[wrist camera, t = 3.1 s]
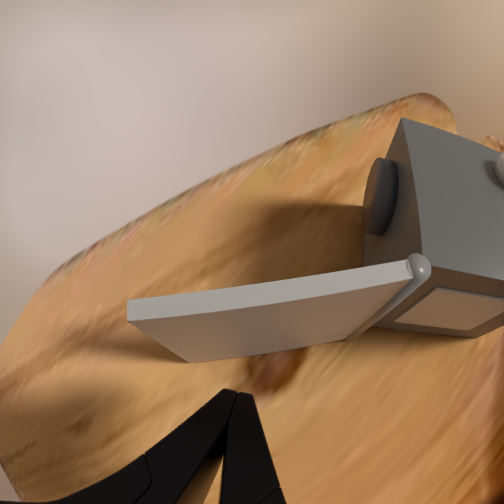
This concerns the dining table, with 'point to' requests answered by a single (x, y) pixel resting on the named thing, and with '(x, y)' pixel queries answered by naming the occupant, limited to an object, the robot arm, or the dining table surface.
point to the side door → (277, 311)
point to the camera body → (439, 229)
